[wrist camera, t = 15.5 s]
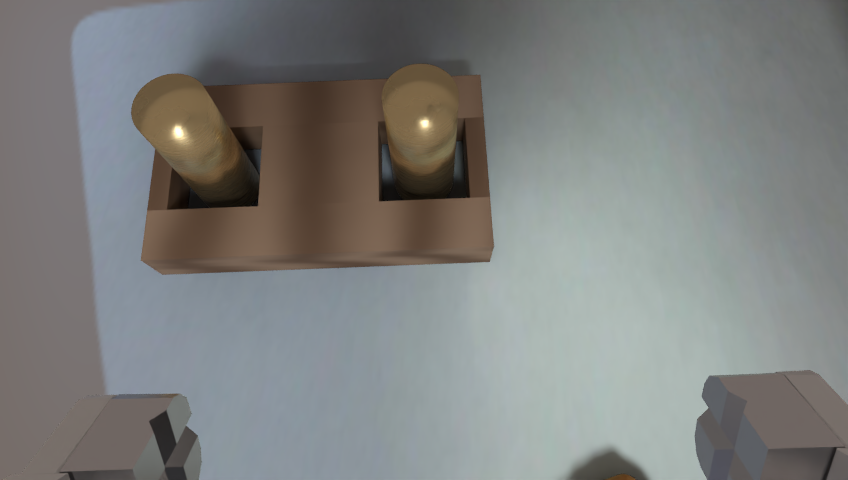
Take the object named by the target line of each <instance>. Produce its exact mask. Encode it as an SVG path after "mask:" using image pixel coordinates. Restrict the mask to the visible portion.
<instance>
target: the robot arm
mask: <svg viewBox="0 0 848 480" xmlns="http://www.w3.org/2000/svg"><path fill="white" fill-rule="evenodd" d="M702 398H703V400H704V401H705V403H706V404H707V406H708V409H707V410H706V411H705V412H704V413H703V414H702V415H701V416H700V417H699V418H698V419H697V424H696V431H695V444H696V453H697V457H698V460H699V463H700V466H701V468H702V470H703V472H704V474H705V476H706V478H707V480H848V405H847V404H846V403H845V402H844V401H843V400H842V398H841V397H840V396H839V395H838V394H837V393H836V392H835V391H834V390H833V389H832V388H831V387H830V386H829V385H828V384H827V383H826V381H825V380H824V379H823V378H822V377H821V376H820V375H819V374H817V373H815V372H813V371H810V370H804V371H786V372H776V373H763V374H738V375H713V376H709V377H708V379H707V380H706V382H705V383H704V388H703V393H702ZM191 414H192V413H191V410H190V407H189V403H188V400H187V397H185V396H183V395H181V394H119V395H88V396H86V397H84V398H81V399H79V400H78V401H77V402H76V404H75V405H74V406H73V408H72V409H71V410H70V411H69V413H68V414H67V415H66V416H65V418H64V419H63V420H62V421H61V423H60V424H59V425H58V427H57V428H56V429H55V431H54V432H53V433H52V434H51V436H50V437H49V438H48V439H47V441H46V442H45V443H44V444H43V446H42V447H41V449H40V450H39V451H38V452H37V453H36V455H35V456H34V457H33V459H32V460H31V461H30V462H29V464H28V465H27V466H26V468H25V469H24V470H23V471H22V473H21V474H19V475H9V476H7V477H5V478H4V479H2V480H199V475H200V469H201V463H202V460H201V447H200V443H199V439H198V435H196V434H195V433H194V432H193V431H192V430H190V429H189V428H188V427H187V426H186V425H187V423H188V420H189V418H190V416H191Z"/></svg>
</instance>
